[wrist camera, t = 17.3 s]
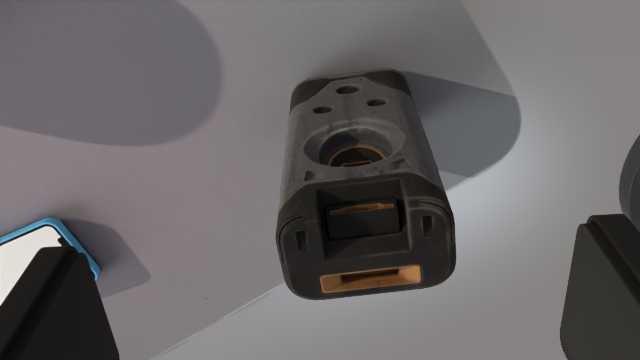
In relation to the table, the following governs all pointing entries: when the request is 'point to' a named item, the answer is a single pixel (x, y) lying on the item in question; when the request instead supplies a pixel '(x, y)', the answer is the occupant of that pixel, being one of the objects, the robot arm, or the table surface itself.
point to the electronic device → (361, 191)
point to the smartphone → (33, 250)
